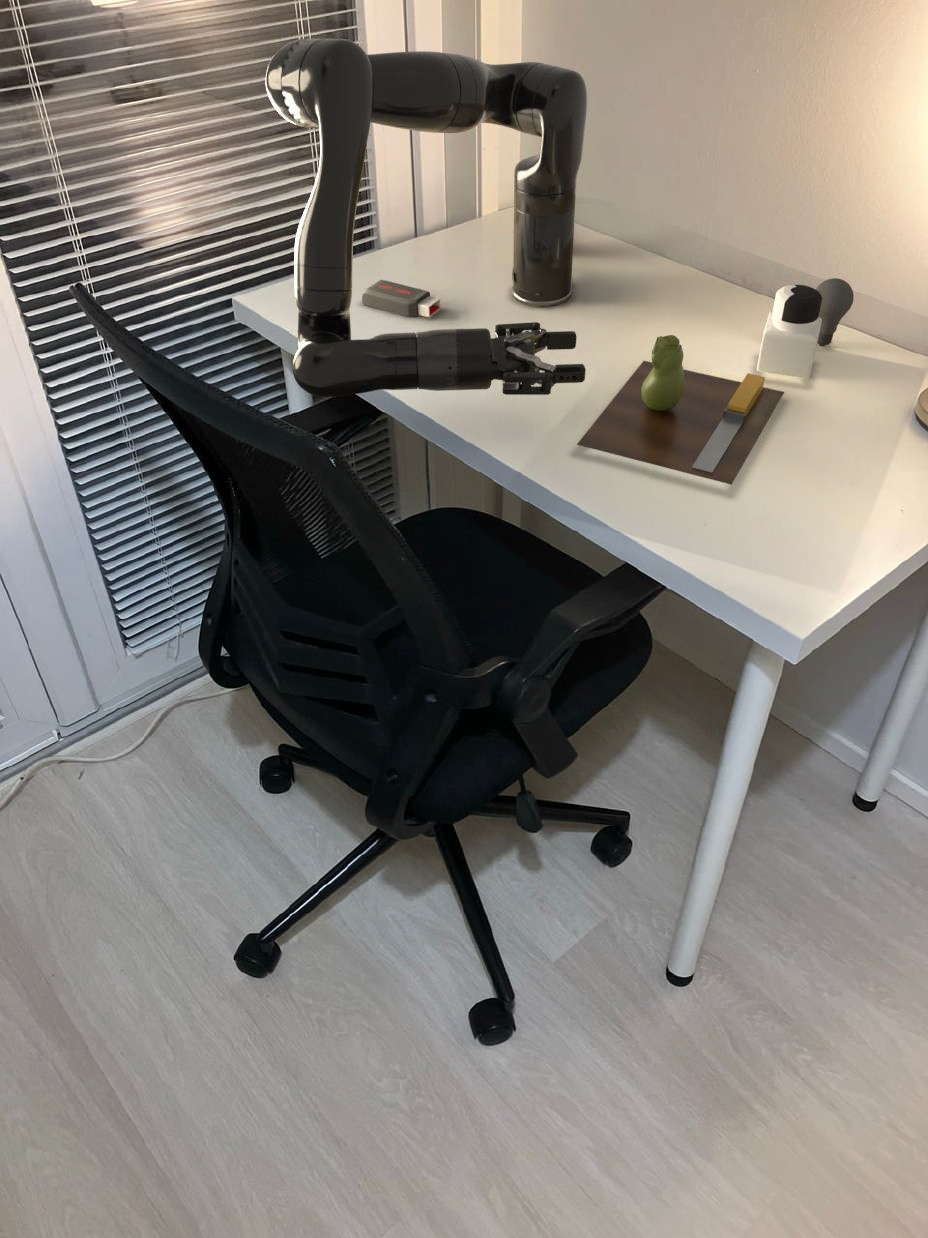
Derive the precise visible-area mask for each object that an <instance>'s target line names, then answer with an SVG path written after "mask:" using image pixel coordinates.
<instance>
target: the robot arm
mask: <svg viewBox="0 0 928 1238" xmlns="http://www.w3.org/2000/svg"><path fill="white" fill-rule="evenodd" d="M265 87H266V88H265V89H266V92H267V95H268V98H269V100H270V102H271V104H272V106H273V107H274V109H275V110H276V111H277V112H278V114H279V115H280V116H281V117H283V118H284V119H285V120H287V121H288V122H290V123H291V124H293V125H295V126H298V127H301V128H305V129H315V130H316V129H318V130H319V135H320V136H319V137H320V140H319V141H320V155H319V157H320V158H319V165H318V171H317V175H316V178H315V181H314V186H313V188H312V191H311V194H310V197H309V199H308V202H307V203H306V206H305V209H304V211H303V214H302V216H301V219H300V221H299V224H298V228H297V231H296V235H295V242H294V253H293V254H294V255H293V256H294V257H293V259H294V260H293V262H294V263H293V264H294V265H293V266H294V267H293V270H294V271H293V272H294V273H293V274H294V275H293V280H294V282H293V285H294V287H293V289H294V290H293V291H294V301H295V306H296V308H297V346H296V347H297V348H296V352H295V354H294V357H293V359H292V366H291V367H292V368H291V369H292V375H293V378H294V380H295V382H296V384H297V385H298V386H299V387H300V388H301V390H303V391H305V392H306V393H307V394H309V395H312V396H316V397H322V398H334V397H335V398H336V397H346V396H352V395H353V396H354V395H359V394H365V393H371V392H375V391H407V390H408V391H409V390H410V391H411V390H412V391H413V390H425V391H435V392H436V391H437V392H438V391H439V392H440V391H441V392H443V391H472V390H475V391H476V390H488V389H490V388H491V386H492V381H494V380H497V381H501V382H502V391H501V392H502V394H503V395H505V396H506V395H507V396H537V395H538V396H547V395H550V394H551V393H552V388H553V387H555V384H577V383H583V382H585V380H586V371H587V370H586V366H585V365H584V363H568V364H565V363H564V364H554V365H553V364H551V363H548V362H545V361H542V360H541V358H540V357H539V356H537V355H536V354H537V353H539V352H541V351H545V349H547V351H556V350H560V351H561V350H574V349H575V348H576V347H577V333H576V331H573V330H568V331H567V330H566V331H562V330H561V331H547V329H545V328H541V323H540V322H537V321H533V322H531V321H530V322H517V323H500V324H499V323H498V324H496V325H495V326H494V337H491V332H490V330H489V328H486V327H482V328H481V327H480V328H451V329H450V328H448V329H431V330H430V329H429V330H424V331H417V332H412V331H411V332H391V333H390V332H388V333H380V334H377V335H374V336H373V337H371V338H365V339H364V338H361V339H352V327H351V325H352V324H351V304H352V298H353V297H352V296H353V295H352V294H353V263H354V262H353V259H354V257H353V255H354V232H355V222H356V215H357V207H358V201H359V196H360V195H359V194H360V189H361V183H362V178H363V171H364V165H365V160H366V154H367V146H368V140H369V134H370V129H371V123H372V124H376V125H381V126H385V127H391V128H395V129H401V130H408V131H414V132H423V133H430V134H431V133H432V134H434V133H435V134H458V133H459V134H460V133H465V132H468V131H471V130H473V129H475V128H477V127H478V126H479V125H480V124H491V125H497V126H501V127H505V128H509V129H512V130H515V131H517V132H520V133H522V134H523V133H524V134H528V135H531V136H534V137H538V138H541V143H540V151H539V154H536V155H531V156H528V157H525V158H523V159H521V160H520V161H518V162H517V163H516V165H515V167H514V174H513V176H514V178H513V179H514V180H513V181H514V182H513V183H514V184H513V186H514V187H513V192H514V193H513V258H512V259H513V260H512V261H513V263H512V272H511V281H512V287H511V288H512V290H511V294H512V297H513V298H514V299H515V300H516V301H518V302H520V303H522V304H524V305H528V306H532V307H552V306H557V305H560V304H563V303H565V302H567V301H568V300H569V299H570V298H571V297H572V279H573V278H572V274H573V261H574V260H573V258H574V257H573V256H574V241H575V240H574V237H575V217H576V199H577V197H576V195H577V181H578V180H577V179H578V174H579V170H580V167H581V165H582V164H581V163H582V160H583V151H584V141H585V130H586V123H587V115H588V113H587V112H588V90H587V85H586V82H585V79H584V77H583V76H582V75H581V74H580V72H578V71H576V70H573V69H569V68H566V67H561V66H557V65H553V64H548V63H544V62H538V61H523V62H513V63H498V64H490V63H485V62H483V61H481V60H479V59H476V58H474V57H471V56H467V55H463V54H457V53H451V52H450V53H449V52H441V51H429V50H428V51H426V50H425V51H422V50H421V51H419V50H418V51H415V50H414V51H398V52H397V51H395V52H383V53H382V52H381V53H371V54H369V53H368V54H367V53H366V51H365V50H364V49H363V48H362V47H361V46H360V45H359V44H357V43H356V42H354V41H353V40H351V39H347V38H325V37H324V38H300V39H295V40H293V41H290V42H288V43H286V44H285V45H283V46H282V47H281V48H279V49H278V50H277V51H276V52H275V54H274V55H273V56H272V58H271V59H270V61H269V64H268V66H267V69H266V74H265ZM541 371H542V372H541ZM536 384H538V386H537V385H536ZM535 385H536V386H535ZM539 385H540V386H539Z"/></svg>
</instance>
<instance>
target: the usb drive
mask: <svg viewBox="0 0 928 1238" xmlns="http://www.w3.org/2000/svg"><path fill="white" fill-rule="evenodd" d="M361 301H362V305H363V306H367V307H369V308H373V309H378V310H381V311H385V312H388V313H393V314H395V315H400V316H404V317H407V318H418V317H420V316H422V317H426V318H431V317H432V316H433V315H435V314H436V313H438V312H439V311H441V298H439V297H435V296H431V292H430V291H428V290H424V289H421V288H417V287H413V286H410V285H405V284H401V283H397V282H394V281H389V280H386V279H379V280H378V281H376V282H374V283H373V284H371V285H370V286H369V287H367V288H365V289H364V290H363V292H362V295H361Z"/></svg>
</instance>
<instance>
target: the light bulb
mask: <svg viewBox="0 0 928 1238" xmlns="http://www.w3.org/2000/svg"><path fill="white" fill-rule="evenodd" d="M815 289H816V290H817V291H819V292H820V294H821V295H822V303H821V308H820V312H819V317H820V318H821V319H822V322H821V327H820V332H819V337H818V342H817V345H818V346H820V347H826V346H829V345H830V344H831V343H832V340H833V338H834V334H835V333H836V331H837V329H838V326H839V324H840V321H842V319H843V318H844V317H845V316H846V315H847V313H848V312H849V311H850V310H851V308H852V306H853V304H854V297H855V296H854V291H853V289H852V286H851V285H850V283H848V282H847V281H846V280H844V279H842V278H837V277H833V278H828V279H825V280H824V281H822V282H821V283H819V284H818V285H817V286H816V288H815Z"/></svg>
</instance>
